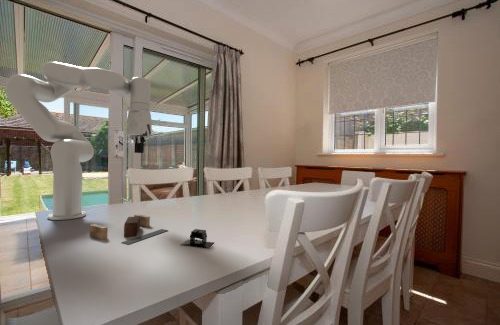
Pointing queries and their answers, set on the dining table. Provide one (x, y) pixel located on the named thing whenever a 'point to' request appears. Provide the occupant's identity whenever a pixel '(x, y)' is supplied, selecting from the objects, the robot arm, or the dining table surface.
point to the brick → (131, 226)
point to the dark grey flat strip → (144, 236)
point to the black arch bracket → (198, 243)
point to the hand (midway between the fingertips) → (139, 152)
